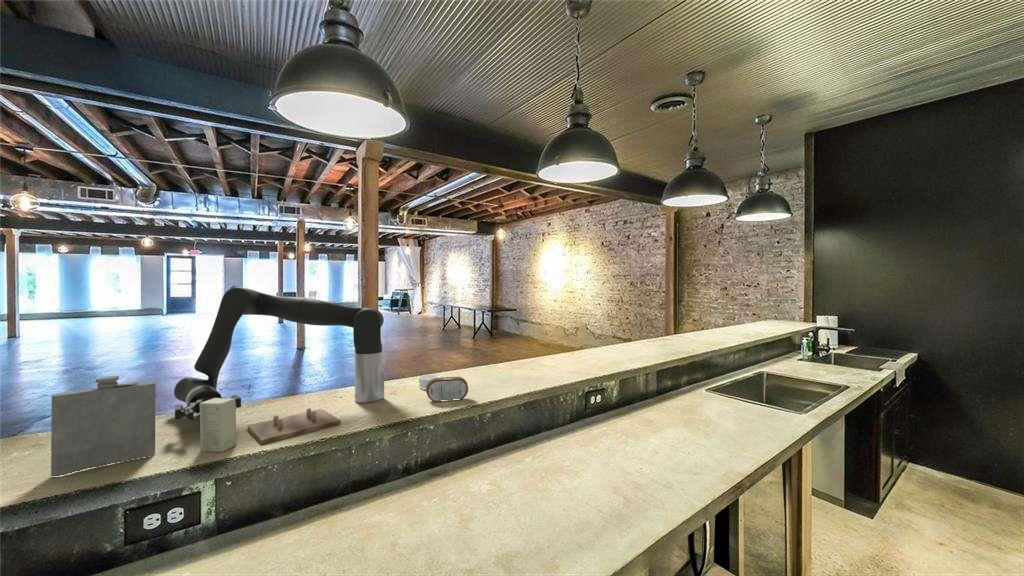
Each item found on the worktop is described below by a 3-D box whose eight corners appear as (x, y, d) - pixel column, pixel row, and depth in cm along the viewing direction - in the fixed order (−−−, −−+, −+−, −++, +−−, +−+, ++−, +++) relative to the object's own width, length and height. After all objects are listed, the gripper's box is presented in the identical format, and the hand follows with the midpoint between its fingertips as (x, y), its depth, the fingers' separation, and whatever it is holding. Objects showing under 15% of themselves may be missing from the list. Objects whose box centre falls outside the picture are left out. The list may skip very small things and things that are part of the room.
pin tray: (321, 412, 119) (321, 401, 119) (340, 424, 109) (340, 411, 109) (247, 429, 105) (247, 416, 105) (261, 444, 95) (261, 430, 95)
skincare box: (237, 445, 94) (237, 397, 94) (221, 452, 90) (222, 403, 90) (214, 444, 95) (215, 397, 95) (198, 451, 90) (198, 402, 91)
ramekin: (443, 388, 149) (443, 377, 149) (422, 391, 144) (422, 380, 144) (436, 383, 157) (436, 373, 157) (415, 386, 152) (415, 376, 152)
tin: (467, 397, 136) (467, 375, 136) (468, 400, 133) (468, 377, 133) (426, 401, 132) (426, 377, 132) (426, 403, 129) (426, 379, 129)
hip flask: (49, 480, 77) (50, 384, 77) (53, 472, 80) (54, 381, 80) (155, 456, 88) (155, 373, 88) (155, 450, 91) (155, 370, 91)
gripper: (171, 392, 104) (177, 404, 93) (233, 382, 114) (245, 392, 103) (171, 418, 104) (176, 434, 93) (233, 406, 114) (245, 419, 103)
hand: (212, 412), depth 98 cm, fingers open, 8 cm apart
